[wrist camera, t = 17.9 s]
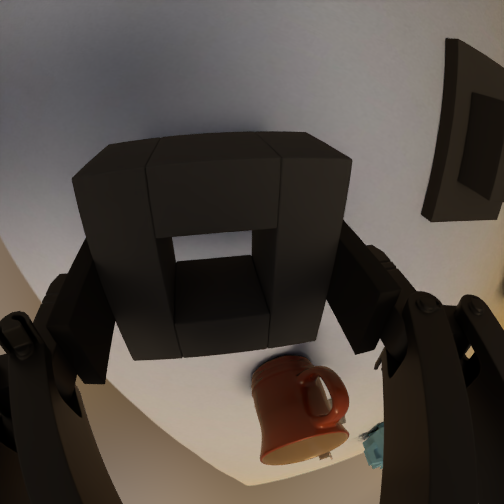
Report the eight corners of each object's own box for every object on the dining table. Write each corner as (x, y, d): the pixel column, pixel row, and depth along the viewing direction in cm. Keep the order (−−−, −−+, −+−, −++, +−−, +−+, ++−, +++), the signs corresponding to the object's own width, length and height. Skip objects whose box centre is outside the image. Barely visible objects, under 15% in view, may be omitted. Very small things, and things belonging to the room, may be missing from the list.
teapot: (423, 401, 54) (442, 436, 45) (390, 432, 64) (403, 463, 54) (374, 419, 51) (392, 461, 41) (343, 448, 60) (356, 482, 51)
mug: (296, 389, 34) (319, 459, 26) (232, 388, 31) (247, 468, 23) (347, 327, 29) (389, 408, 20) (272, 319, 26) (305, 421, 17)
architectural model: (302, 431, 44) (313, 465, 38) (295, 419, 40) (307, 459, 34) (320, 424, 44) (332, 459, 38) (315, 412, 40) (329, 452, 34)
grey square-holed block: (108, 144, 10) (70, 178, 7) (306, 131, 11) (353, 159, 8) (140, 298, 14) (133, 361, 11) (291, 284, 16) (315, 340, 12)
